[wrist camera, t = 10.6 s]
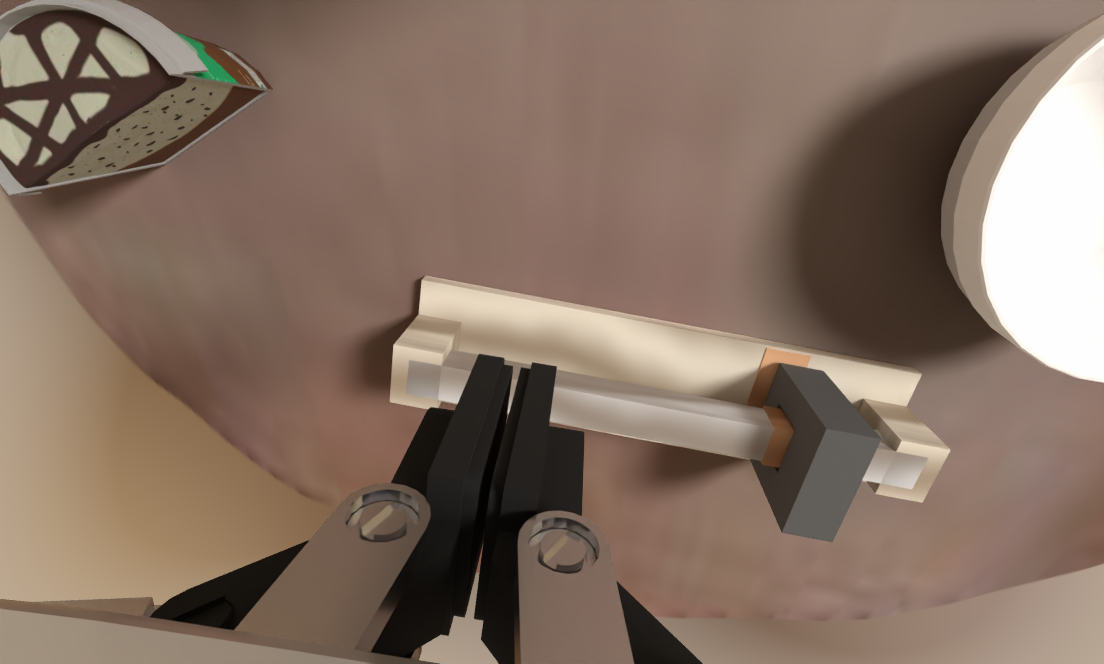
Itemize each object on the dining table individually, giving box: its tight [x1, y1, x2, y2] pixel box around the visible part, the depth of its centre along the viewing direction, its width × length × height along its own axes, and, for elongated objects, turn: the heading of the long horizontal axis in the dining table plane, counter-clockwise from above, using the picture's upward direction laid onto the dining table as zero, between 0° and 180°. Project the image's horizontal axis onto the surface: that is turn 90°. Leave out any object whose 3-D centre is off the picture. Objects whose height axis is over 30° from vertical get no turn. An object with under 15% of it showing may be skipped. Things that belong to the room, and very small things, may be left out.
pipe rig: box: [390, 276, 950, 502], centre depth 37 cm, size 9×34×6 cm, turn 80°
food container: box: [0, 0, 273, 196], centre depth 30 cm, size 12×6×10 cm, turn 119°
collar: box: [750, 363, 882, 542], centre depth 35 cm, size 7×3×8 cm, turn 170°
